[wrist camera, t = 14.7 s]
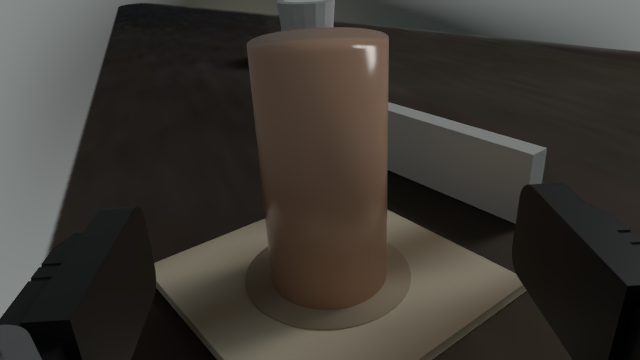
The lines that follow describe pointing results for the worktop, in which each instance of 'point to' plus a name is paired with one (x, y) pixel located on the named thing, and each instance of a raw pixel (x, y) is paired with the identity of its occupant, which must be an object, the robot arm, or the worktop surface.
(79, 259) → the robot arm
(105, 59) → the worktop surface
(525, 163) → the wall
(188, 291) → the pad
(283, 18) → the shot glass
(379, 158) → the cylinder
